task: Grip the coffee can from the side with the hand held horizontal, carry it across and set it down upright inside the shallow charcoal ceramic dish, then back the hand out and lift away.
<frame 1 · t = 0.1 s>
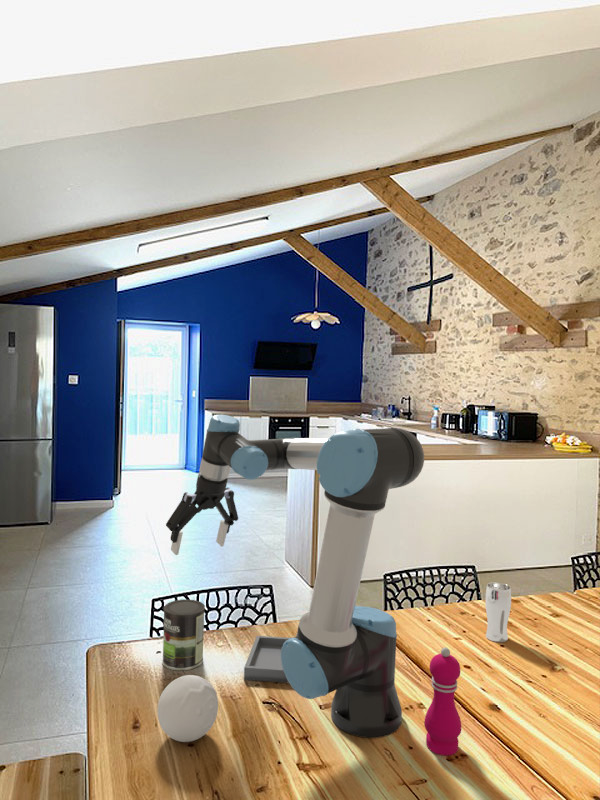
hand: (197, 547, 156), 28 cm above the table, tool tilted 20°, fingers open, 13 cm apart
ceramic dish: (285, 664, 152), on the table
decorative ball: (187, 737, 120), on the table
beer glass: (496, 638, 171), on the table
coffee can: (183, 662, 152), on the table
pepper mill: (441, 747, 120), on the table
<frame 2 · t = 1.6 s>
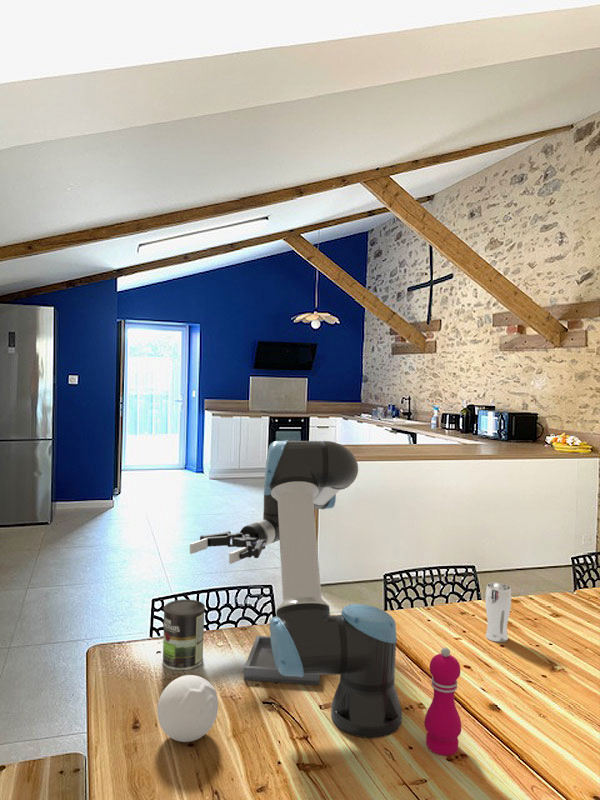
hand: (209, 553, 159), 25 cm above the table, tool horizontal, fingers open, 13 cm apart
nothing on the table moved.
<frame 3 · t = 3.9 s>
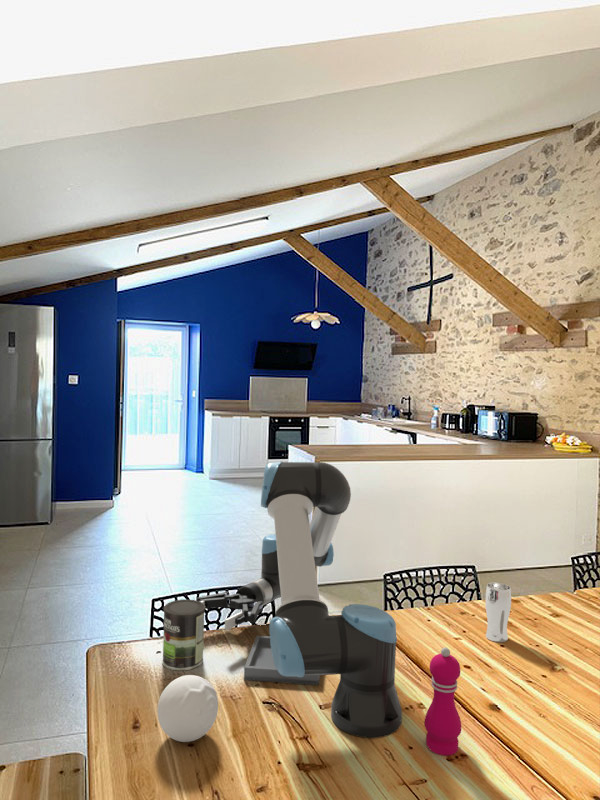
hand: (206, 618, 159), 8 cm above the table, tool horizontal, fingers open, 13 cm apart
nothing on the table moved.
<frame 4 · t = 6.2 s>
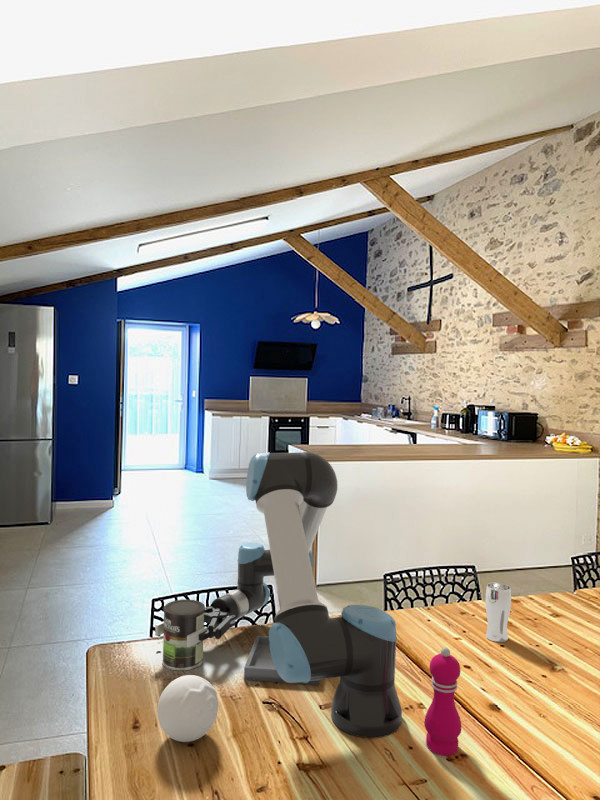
hand: (171, 636, 148), 8 cm above the table, tool horizontal, fingers closed on coffee can, 10 cm apart
coffee can: (183, 662, 152), on the table, touching gripper
everything else where it was.
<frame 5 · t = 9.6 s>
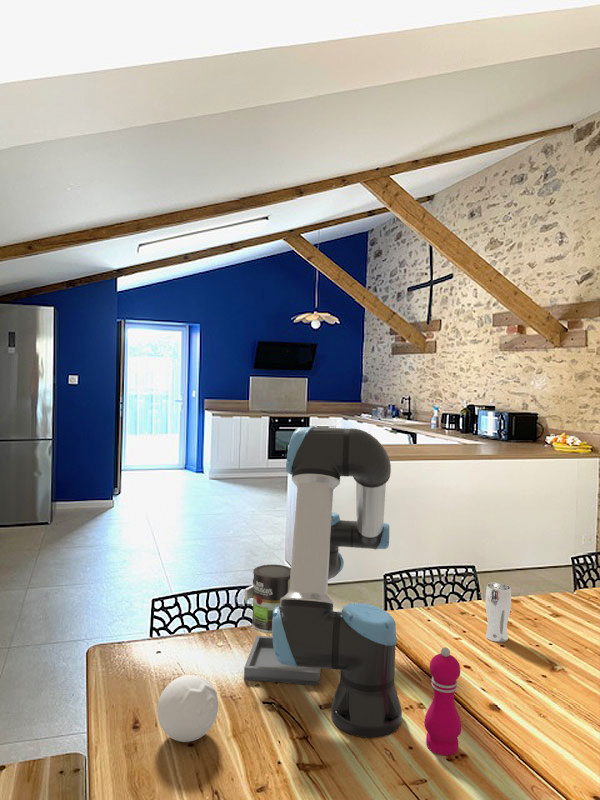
hand: (263, 599, 148), 18 cm above the table, tool horizontal, fingers closed on coffee can, 10 cm apart
coffee can: (272, 626, 152), point 10 cm above the table, touching gripper
everything else where it was.
when the fingers open (10 cm above the table, at t = 12.7 s): coffee can drops 1 cm, resting on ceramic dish.
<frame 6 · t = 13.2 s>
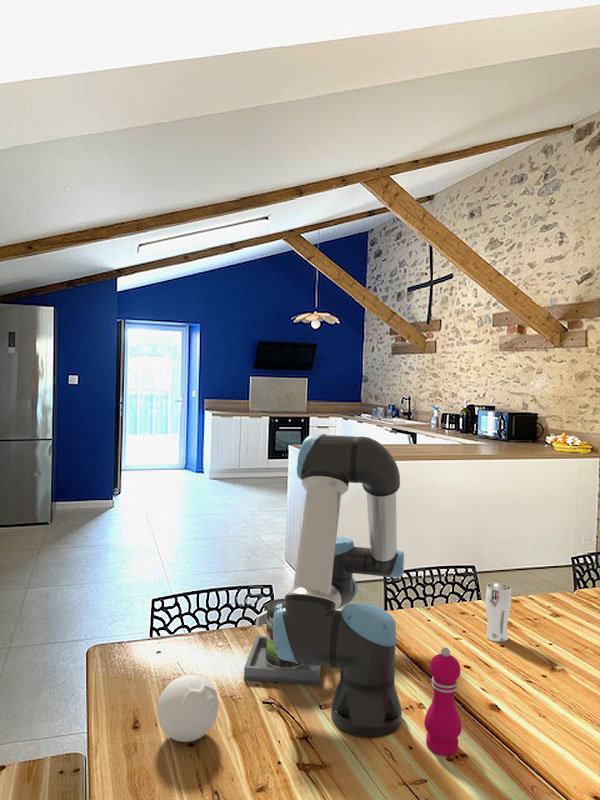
hand: (279, 628, 149), 10 cm above the table, tool horizontal, fingers open, 13 cm apart
coffee can: (285, 661, 152), point 1 cm above the table, touching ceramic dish
everything else where it was.
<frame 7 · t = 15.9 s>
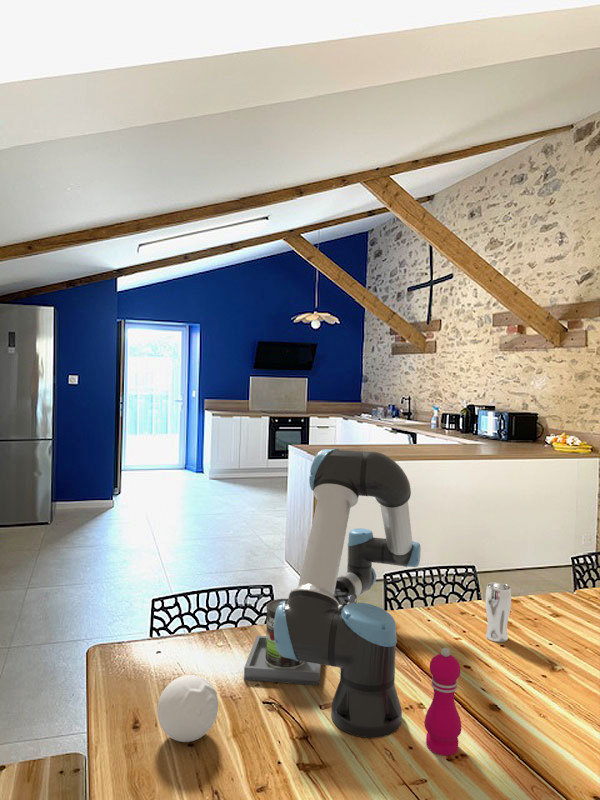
hand: (306, 611, 160), 11 cm above the table, tool horizontal, fingers open, 13 cm apart
nothing on the table moved.
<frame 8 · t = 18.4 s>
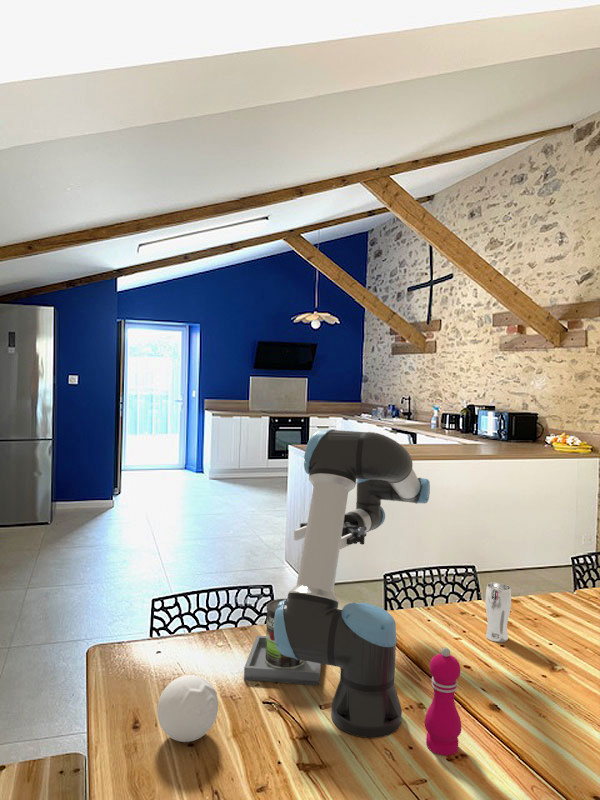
hand: (316, 539, 159), 30 cm above the table, tool horizontal, fingers open, 13 cm apart
nothing on the table moved.
at the end: coffee can inside the target area on the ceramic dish (0.2 cm from its centre), point 0.8 cm above the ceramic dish's base; coffee can tilted 0°; the gripper is holding nothing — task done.
